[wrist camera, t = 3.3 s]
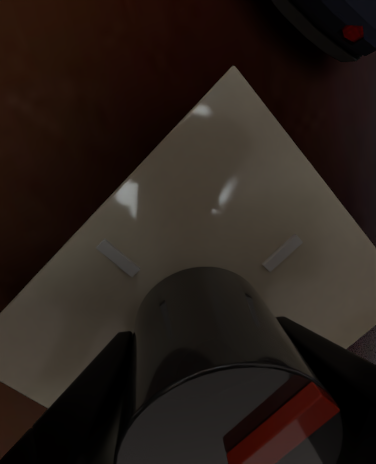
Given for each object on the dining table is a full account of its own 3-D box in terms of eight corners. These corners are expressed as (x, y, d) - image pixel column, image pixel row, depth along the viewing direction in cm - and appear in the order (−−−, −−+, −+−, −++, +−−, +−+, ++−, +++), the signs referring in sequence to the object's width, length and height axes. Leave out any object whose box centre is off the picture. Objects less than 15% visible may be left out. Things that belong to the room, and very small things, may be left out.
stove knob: (202, 397, 9) (234, 582, 5) (106, 334, 8) (53, 507, 4) (289, 318, 9) (401, 457, 5) (199, 237, 8) (244, 329, 4)
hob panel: (176, 415, 14) (180, 489, 11) (10, 305, 11) (-48, 362, 8) (353, 263, 12) (418, 297, 9) (212, 92, 9) (236, 60, 6)
